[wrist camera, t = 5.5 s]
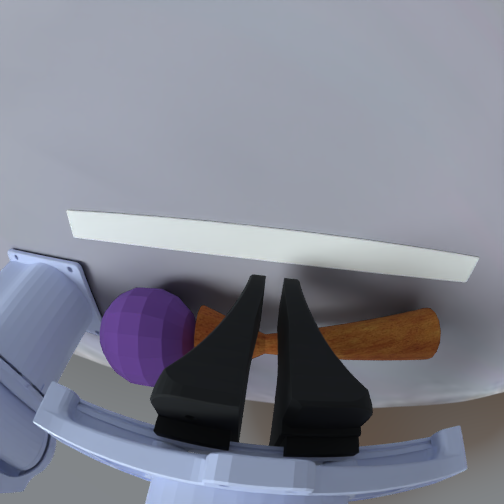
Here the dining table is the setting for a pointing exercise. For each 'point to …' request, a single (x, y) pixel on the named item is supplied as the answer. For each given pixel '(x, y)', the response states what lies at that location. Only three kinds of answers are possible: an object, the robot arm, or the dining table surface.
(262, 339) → the kendama
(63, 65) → the dining table surface
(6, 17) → the dining table surface
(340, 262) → the strip
